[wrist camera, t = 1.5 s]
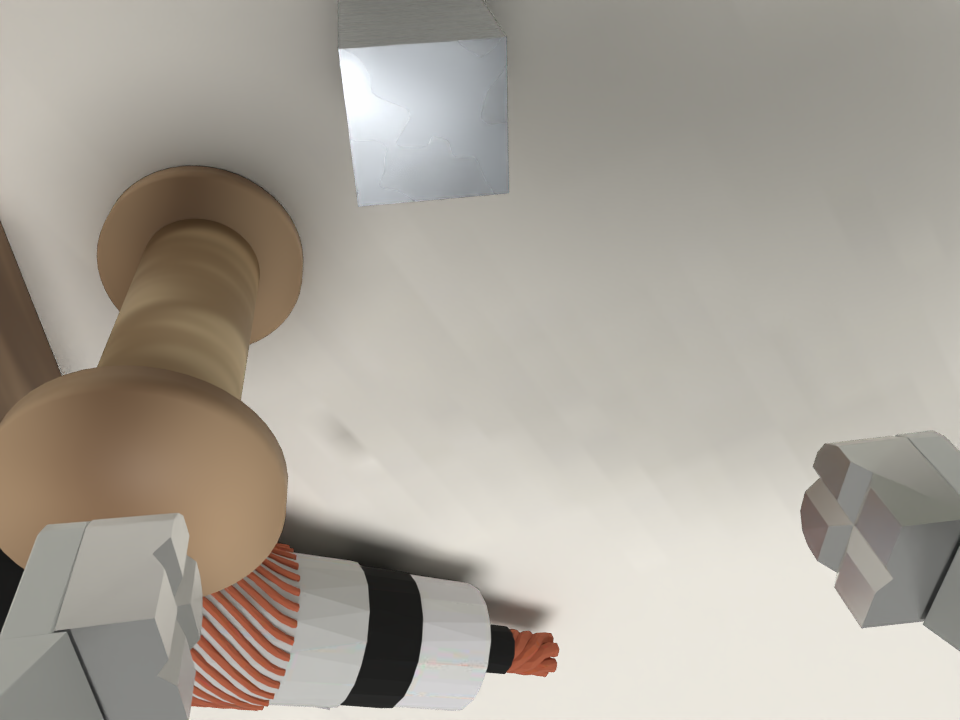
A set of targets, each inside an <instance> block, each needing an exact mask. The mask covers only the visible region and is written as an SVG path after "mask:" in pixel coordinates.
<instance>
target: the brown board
mask: <svg viewBox="0 0 960 720" xmlns="http://www.w3.org/2000/svg"><path fill="white" fill-rule="evenodd" d="M58 377H61V374H60V371H59V369H58V366H57V364H56V361H55V358H54V356H53V353H52V351H51V348H50V346H49V343H48V341H47V338H46V336H45V333H44V331H43V328H42V326H41V323H40V321H39V318H38V316H37V313H36V311H35V308H34V306H33V303H32V301H31V298H30V295H29V293H28V290H27V288H26V285H25V283H24V280H23V278H22V275H21V273H20V270H19V268H18V265H17V263H16V260H15V258H14V255H13V253H12V250H11V248H10V245H9V243H8V240H7V238H6V235H5V232H4V230H3V227H2V225H1V222H0V423H1V422H2V420H3V418H4V417H5V415H6V414H7V413H8V412H9V410H10V409H11V408H12V407H13V406H14V405H15V404H16V403H17V402H18V401H19V400H20V399H22V398H23V397H24V396H26V395H27V394H28V393H29V392H31V391H32V390H34V389H36V388H37V387H39V386H41V385H43V384H44V383H46V382H48V381H51V380H53V379H56V378H58Z"/></svg>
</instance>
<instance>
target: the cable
mask: <svg viewBox="0 0 960 720" xmlns="http://www.w3.org/2000/svg"><path fill="white" fill-rule="evenodd" d="M293 550H294V549H293V548H290V545H286V544H280V543H277V544H276V545H275V547H274V548H273V550H272V551H271V553H270V554H269V556H268V557H267V558H266V559H265V560H264V561H263V562H262V563H261V564H260V565H259V566H258V567H257V568H256V569H255V570H254V571H252V572H251V573H250V574H249V575H247V576H246V577H244V578H243V579H241V580H240V581H238V582H237V583H235V584H233V585H231V586H229V587H227V588H225V589H223V590H220V591H218V592H215V593H212V594H210V595H207V596H204V597H203V619H202V628H201V636H200V640H199V641H198V642H197V643H196V644H195V645H194V647H193V648H192V649H191V650H190V653H191V656H192V660H193V663H194V667H195V670H196V674H195V681H194V688H193V695H192V702H191V706H197V707H212V708H222V709H227V708H233V709H238V710H254V711H258V710H263V708H264V706H268V705H283V706H304V707H318V708H323V709H328V710H330V708H331V707H338V706H339V705H346V706H360V707H373V708H393V707H407V708H421V709H436V710H451V711H454V710H462V709H464V708H465V707H466V706H467V705H468V704H469V703H470V702H472V701H473V700H474V698H475V697H476V695H477V693H478V691H479V689H480V687H481V685H482V682H483V679H484V676H485V673H486V672H487V673H499V674H505V673H506V672H507V673H516V674H521V675H536V676H543V677H546V676H547V674H548V672H555V670H556V667H557V662H556V659H554V658H550V657H556V656H558V653H559V647H558V645H557V643H553V636H552V634H551V633H545V632H543V633H535V634H532V633H531V632H530V631H523V632H521V633H519V632H518V630H515V629H509V628H508V627H505V626H498V625H490V619H489V614H488V609H487V605H486V603H485V601H484V599H483V597H482V595H481V593H480V591H479V589H477V588H475V587H474V586H472V585H471V584H469V583H465V582H458V581H451V580H444V579H437V578H431V577H424V576H417V575H410V574H409V573H406V572H399V571H393V570H386V569H380V568H374V567H367V566H361V565H359V564H358V563H357V562H354V561H350V560H343V559H336V558H329V557H322V556H315V555H308V554H301V553H294V552H293ZM23 572H24V569H23V568H22V567H20V566H19V565H18V564H16V563H15V562H14V561H13V560H12V559H11V558H10V557H8V556H7V555H6V554H5V553H4V552H3V551H2V550H1V548H0V634H1V631H2V628H3V626H4V623H5V620H6V618H7V615H8V612H9V610H10V607H11V604H12V602H13V599H14V596H15V593H16V591H17V588H18V585H19V583H20V580H21V577H22V575H23Z"/></svg>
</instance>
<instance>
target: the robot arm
mask: <svg viewBox="0 0 960 720" xmlns="http://www.w3.org/2000/svg"><path fill="white" fill-rule="evenodd" d="M813 468H814V469H815V471H816V472H817V474H818V476H819V477H820V478H819V479H818V480H817V481H816V482H815V483H814V484H813V485H812V486H811V487H810V488H809V489H808V490H806V491H805V494H804V498H803V502H802V506H801V510H800V512H801V522H802V531H803V534H804V536H805V539H806V542H807V544H808V547H809V548H810V550H811V551H812V553H813V555H814V556H815V558H816V559H817V561H819V562H820V563H822V564H823V565H825V566H827V567H828V568H830V569H832V570H833V571H835V572H837V575H836V581H835V589H836V590H837V592H838V593H839V595H840V597H841V598H842V600H843V601H844V603H845V604H846V606H847V607H848V609H849V610H850V612H851V613H852V615H853V616H854V618H855V619H856V621H857V622H858V624H859V625H860V627H861V628H867V627H876V626H885V625H894V624H904V623H913V622H922V621H924V623H923V625H924V626H926V627H927V628H928V629H930V630H931V631H932V632H934V633H935V634H937V635H938V636H939V637H941V638H942V639H943V640H945V641H946V642H948V643H949V644H950V645H952V646H953V647H955V648H956V649H957V650H959V651H960V451H959V450H958V449H957V448H956V447H955V446H954V445H953V444H952V443H951V442H950V441H949V440H948V439H947V438H946V437H945V436H944V435H942V434H940V433H937V432H935V431H933V430H932V431H924V432H916V433H907V434H899V435H896V436H885V437H876V438H868V439H859V440H850V441H842V442H833V443H825V444H824V445H823V446H822V448H821V449H820V450H819V451H818V452H817V455H816V458H815V461H814V464H813ZM188 541H189V532H188V529H187V526H186V523H185V520H184V516H183V515H181V514H180V513H169V514H157V515H146V516H134V517H122V518H110V519H98V520H92V521H87V522H74V523H61V524H48V525H46V526H45V527H44V528H43V529H42V530H41V531H40V533H39V534H38V535H37V537H36V540H35V543H34V545H33V548H32V551H31V553H30V556H29V559H28V561H27V564H26V567H25V569H24V572H23V575H22V577H21V580H20V583H19V585H18V588H17V591H16V593H15V596H14V599H13V602H12V604H11V607H10V610H9V612H8V615H7V618H6V620H5V623H4V626H3V628H2V631H1V634H0V720H189V716H190V709H191V702H192V695H193V688H194V681H195V674H196V670H195V667H194V663H193V660H192V656H191V653H190V650H191V649H192V648H193V647H194V645H195V644H196V643H197V642H198V641H199V640H200V636H201V628H202V619H203V594H202V586H201V579H200V574H199V570H198V566H197V562H196V561H195V560H193V559H192V558H191V557H189V556H188V555H186V554H187V548H188Z"/></svg>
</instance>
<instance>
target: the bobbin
mask: <svg viewBox="0 0 960 720" xmlns="http://www.w3.org/2000/svg"><path fill="white" fill-rule="evenodd" d="M97 264H98V270H99V274H100V278H101V281H102V283H103V286H104V288H105V291H106V292H107V294H108V296H109V298H110V299H111V301H112V302H113V304H114V305H115V306H116V308H117V309H118V310H119V311H120V312H119V315H118V317H117V319H116V322H115V324H114V327H113V329H112V332H111V334H110V337H109V339H108V342H107V344H106V347H105V349H104V351H103V354H102V356H101V359H100V361H99V364H98V366H97V368H91V369H85V370H81V371H77V372H73V373H70V374H66V375H63V376H61V377H58V378H56V379H53V380H51V381H48V382H46V383H44V384H43V385H41V386H39V387H37V388H36V389H34V390H32V391H31V392H29V393H28V394H27V395H26V396H24V397H23V398H22V399H20V400H19V401H18V402H17V403H16V404H15V405H14V406H13V407H12V408H11V409H10V410H9V412H8V413H7V414H6V415H5V417H4V418H3V420H2V422H1V423H0V548H1V550H2V551H3V552H4V553H5V554H6V555H7V556H8V557H10V558H11V559H12V560H13V561H14V562H15V563H16V564H18V565H19V566H20V567H22V568H23V569H25V567H26V564H27V561H28V559H29V556H30V553H31V551H32V548H33V545H34V543H35V540H36V537H37V535H38V534H39V533H40V531H41V530H42V529H43V528H44V527H45V526H46V525H48V524H61V523H74V522H87V521H92V520H98V519H110V518H122V517H134V516H146V515H157V514H169V513H180V514H181V515H183V516H184V520H185V523H186V526H187V529H188V532H189V541H188V548H187V554H186V555H188V556H189V557H191V558H192V559H193V560H195V561H196V562H197V566H198V570H199V574H200V579H201V586H202V594H203V597H204V596H207V595H210V594H212V593H215V592H218V591H220V590H223V589H225V588H227V587H229V586H231V585H233V584H235V583H237V582H238V581H240V580H241V579H243V578H244V577H246V576H247V575H249V574H250V573H251V572H252V571H254V570H255V569H256V568H257V567H258V566H259V565H260V564H261V563H262V562H263V561H264V560H265V559H266V558H267V557H268V556H269V554H270V553H271V551H272V550H273V548H274V547H275V545H276V544H277V542H278V539H279V537H280V535H281V532H282V530H283V526H284V521H285V515H286V501H287V485H288V474H287V467H286V462H285V459H284V455H283V452H282V449H281V447H280V445H279V443H278V442H277V440H276V438H275V436H274V435H273V433H272V432H271V430H270V429H269V428H268V426H267V425H266V423H265V422H264V421H263V420H262V419H261V418H260V417H259V416H258V415H257V414H256V413H255V412H254V411H253V410H252V409H250V408H249V407H248V406H247V405H245V404H244V403H243V402H242V401H241V395H242V389H243V382H244V376H245V370H246V363H247V357H248V350H249V344H252V343H254V342H257V341H259V340H260V339H262V338H264V337H266V336H267V335H269V334H270V333H272V332H273V331H274V330H276V329H277V328H278V327H279V326H280V325H281V324H282V323H283V322H284V321H285V319H286V318H287V317H288V316H289V314H290V313H291V311H292V309H293V308H294V306H295V304H296V302H297V299H298V296H299V294H300V289H301V284H302V272H303V252H302V245H301V241H300V237H299V235H298V232H297V230H296V227H295V225H294V223H293V222H292V220H291V218H290V216H289V215H288V214H287V212H286V211H285V210H284V208H283V207H282V206H281V205H280V204H279V203H278V202H277V201H276V200H275V199H274V197H273V196H271V195H270V194H269V193H268V192H266V191H265V190H264V189H263V188H261V187H260V186H258V185H256V184H255V183H253V182H252V181H250V180H248V179H246V178H244V177H242V176H239V175H237V174H234V173H231V172H228V171H225V170H221V169H217V168H212V167H203V166H181V167H174V168H168V169H165V170H161V171H158V172H155V173H153V174H151V175H148V176H146V177H144V178H142V179H141V180H139V181H137V182H136V183H134V184H133V185H132V186H131V187H129V188H128V189H127V190H126V191H125V192H124V193H123V194H122V195H121V196H120V198H119V199H118V200H117V201H116V203H115V205H114V206H113V208H112V209H111V211H110V213H109V215H108V217H107V219H106V221H105V223H104V225H103V228H102V230H101V232H100V236H99V240H98V245H97Z"/></svg>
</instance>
